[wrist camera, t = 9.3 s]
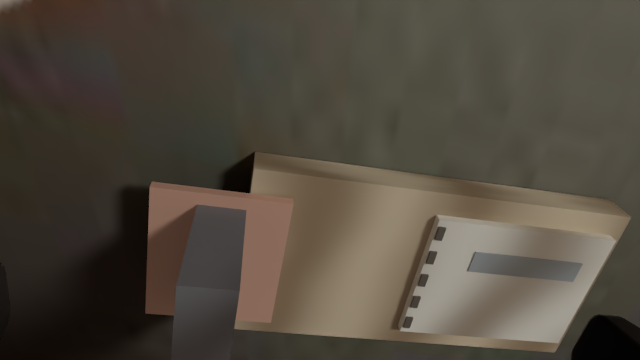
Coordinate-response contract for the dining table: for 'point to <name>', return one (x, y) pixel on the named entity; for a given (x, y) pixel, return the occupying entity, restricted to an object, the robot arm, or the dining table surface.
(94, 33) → the dining table surface
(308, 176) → the ticket board
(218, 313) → the stub
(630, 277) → the dining table surface
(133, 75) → the dining table surface
